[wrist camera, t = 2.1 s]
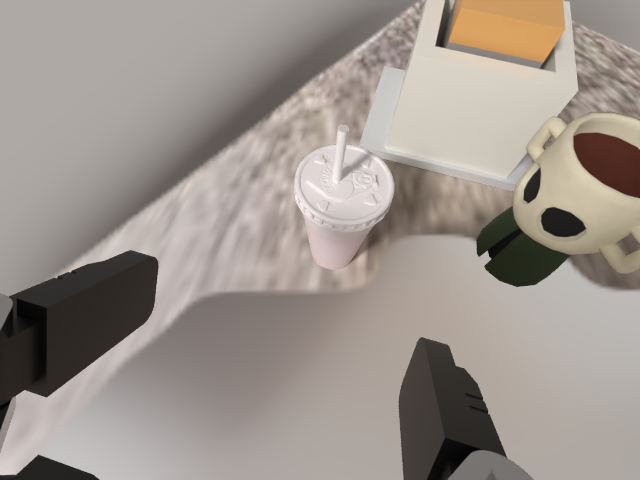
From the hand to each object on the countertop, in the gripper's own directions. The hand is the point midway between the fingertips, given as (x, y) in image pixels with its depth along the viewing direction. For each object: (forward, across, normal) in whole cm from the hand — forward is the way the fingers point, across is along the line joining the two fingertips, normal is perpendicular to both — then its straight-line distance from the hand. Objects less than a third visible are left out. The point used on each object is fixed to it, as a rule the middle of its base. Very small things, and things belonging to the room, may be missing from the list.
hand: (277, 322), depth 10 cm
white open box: (+33, -8, -9) cm, 35 cm away
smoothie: (+20, 0, +4) cm, 20 cm away
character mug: (+23, -15, +1) cm, 27 cm away
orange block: (+28, -8, -13) cm, 32 cm away
